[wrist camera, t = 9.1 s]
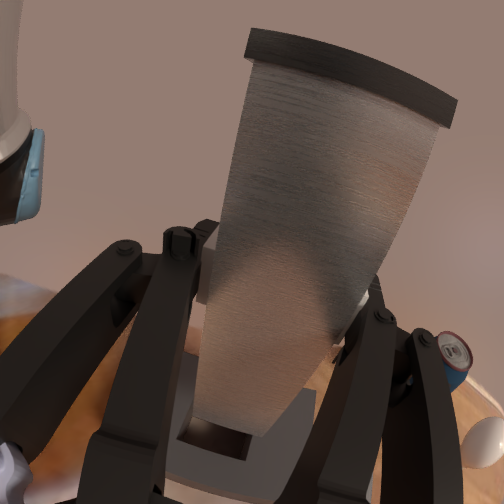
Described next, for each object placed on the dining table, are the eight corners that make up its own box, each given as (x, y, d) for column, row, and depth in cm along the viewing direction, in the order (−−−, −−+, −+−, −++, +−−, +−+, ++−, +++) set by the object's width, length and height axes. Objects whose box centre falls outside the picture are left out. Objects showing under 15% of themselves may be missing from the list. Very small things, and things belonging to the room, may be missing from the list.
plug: (188, 417, 15) (251, 27, 5) (211, 360, 19) (279, 58, 9) (264, 440, 14) (458, 100, 4) (277, 380, 19) (401, 98, 8)
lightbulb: (424, 449, 22) (486, 406, 17) (455, 447, 22) (513, 405, 16) (425, 492, 17) (495, 457, 11) (458, 485, 17) (523, 448, 11)
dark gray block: (117, 455, 18) (104, 441, 16) (162, 368, 28) (161, 342, 26) (281, 508, 17) (299, 504, 14) (299, 410, 27) (316, 390, 24)
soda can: (408, 383, 32) (459, 326, 26) (423, 422, 26) (484, 369, 20) (372, 387, 31) (424, 327, 24) (385, 432, 25) (450, 378, 19)
